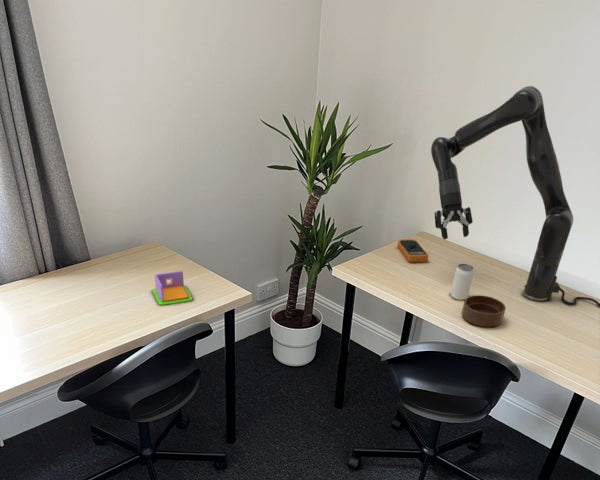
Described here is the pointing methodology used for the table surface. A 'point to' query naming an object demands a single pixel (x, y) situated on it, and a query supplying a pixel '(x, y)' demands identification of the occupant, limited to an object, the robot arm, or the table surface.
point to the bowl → (483, 310)
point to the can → (462, 281)
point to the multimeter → (412, 250)
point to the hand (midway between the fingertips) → (455, 237)
